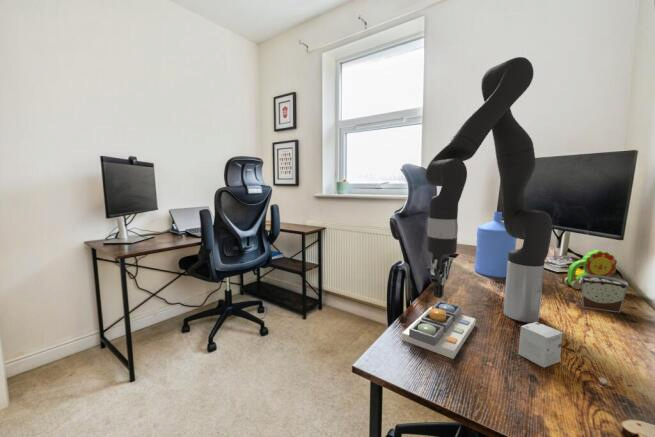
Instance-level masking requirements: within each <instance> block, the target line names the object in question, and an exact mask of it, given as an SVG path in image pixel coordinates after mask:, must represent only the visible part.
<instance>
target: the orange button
mask: <svg viewBox="0 0 655 437" xmlns="http://www.w3.org/2000/svg"><path fill="white" fill-rule="evenodd" d="M429 319H431V320H434V321H438V322H441V323H443V322H445V321H446V312H445V311H443V310H441V309H430V311H429Z"/></svg>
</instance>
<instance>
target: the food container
mask: <svg viewBox="0 0 655 437" xmlns="http://www.w3.org/2000/svg"><path fill="white" fill-rule="evenodd" d="M579 283H581V284H582V288H581V307H582V308H586V309H593V310H599V311H606V312H613V313H621V311H622V306H623V302H624V299H625V297H626V293H627V290H630V284H629V283H628V282H627V281H625V280H622V279H619V278H615V277H611V276H607V277H606V276H599V275H583V276H582V277H581V278H580V281H579Z"/></svg>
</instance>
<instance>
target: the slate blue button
mask: <svg viewBox="0 0 655 437" xmlns="http://www.w3.org/2000/svg"><path fill="white" fill-rule="evenodd" d="M439 309H441V310H444V311H448V312H452V313H454V312H455V308H454V307H453V306H451V305H448V304H441V305H439Z"/></svg>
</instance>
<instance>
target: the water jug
mask: <svg viewBox="0 0 655 437" xmlns="http://www.w3.org/2000/svg"><path fill="white" fill-rule="evenodd" d="M502 215H503V211H494V212H493V220H492V221H490V222H489V221H488V222H487V223H484V224H481V225H478V227H477V230H476V248H475V250H476V251H475V262H474V270H475V272H476V273H478V274H480V275H482V276H486V277H491V278H497V279H499V278H501V279H502V278H503V279H504V278H505V279H506V275H507V263H508V254H509V252H510V251H511V250H516V249H517V248H516V247H517V246H516V245H517V239H518V238H514V237H512V236H510V235H509V234H508V233H507V232H506V230H505V226H504V221H502V217H503V216H502Z"/></svg>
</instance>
